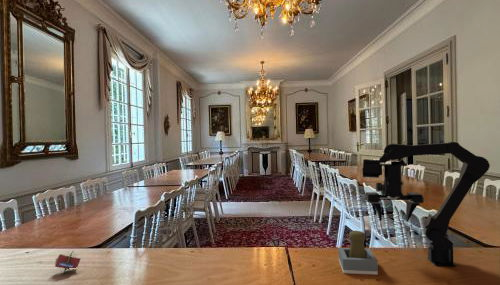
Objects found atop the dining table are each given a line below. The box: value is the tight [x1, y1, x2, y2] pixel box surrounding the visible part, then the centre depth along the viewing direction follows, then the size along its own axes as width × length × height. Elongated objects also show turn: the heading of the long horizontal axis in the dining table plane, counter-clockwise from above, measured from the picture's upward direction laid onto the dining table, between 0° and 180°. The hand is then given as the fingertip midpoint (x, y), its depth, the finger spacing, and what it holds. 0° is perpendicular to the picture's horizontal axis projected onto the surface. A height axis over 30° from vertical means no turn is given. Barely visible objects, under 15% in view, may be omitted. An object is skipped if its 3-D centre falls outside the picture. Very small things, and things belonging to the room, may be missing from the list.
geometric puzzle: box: [54, 250, 81, 271], centre depth 105 cm, size 7×7×8 cm
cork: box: [348, 230, 366, 258], centre depth 103 cm, size 6×6×11 cm
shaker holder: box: [338, 247, 379, 275], centre depth 103 cm, size 11×11×4 cm
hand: (393, 221), depth 110 cm, fingers open, 9 cm apart
